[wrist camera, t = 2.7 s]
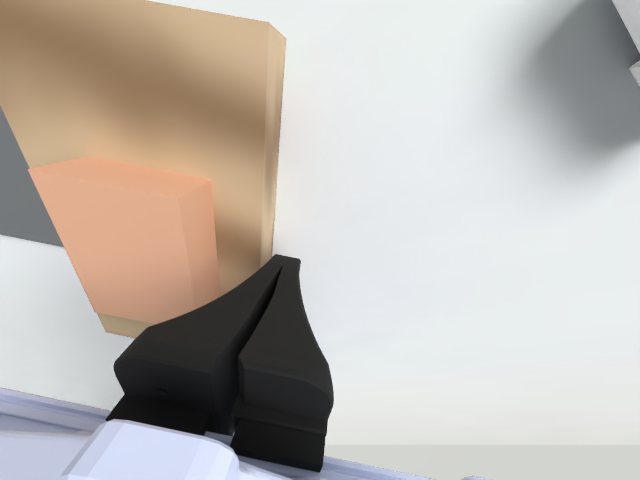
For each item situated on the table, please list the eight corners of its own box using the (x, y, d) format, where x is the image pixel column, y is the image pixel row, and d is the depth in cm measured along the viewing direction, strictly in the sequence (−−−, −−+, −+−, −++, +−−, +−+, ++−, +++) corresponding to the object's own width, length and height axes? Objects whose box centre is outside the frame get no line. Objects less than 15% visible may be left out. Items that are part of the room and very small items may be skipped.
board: (266, 335, 21) (256, 362, 18) (131, 308, 21) (105, 332, 19) (286, 38, 10) (268, 22, 8) (18, -10, 11) (-67, -38, 8)
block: (220, 300, 15) (199, 333, 13) (130, 282, 16) (94, 312, 13) (211, 179, 11) (178, 198, 9) (88, 156, 11) (27, 169, 9)
